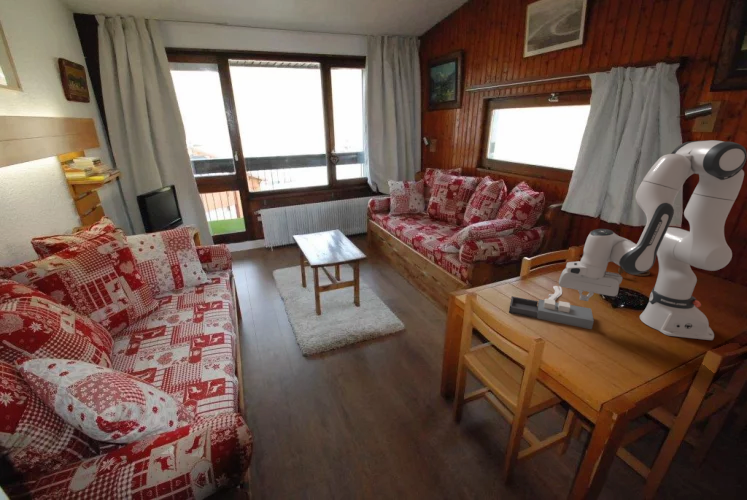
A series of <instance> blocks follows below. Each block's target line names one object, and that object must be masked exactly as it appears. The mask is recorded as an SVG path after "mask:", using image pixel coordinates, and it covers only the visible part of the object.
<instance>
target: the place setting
mask: <svg viewBox="0 0 747 500" xmlns="http://www.w3.org/2000/svg"><path fill="white" fill-rule="evenodd" d="M617 271H618V272H617V273H618V274H619V275H621V276H622V274H623V273H624V272H625V273H627V272H626V271H625V270H624V269H622V268H621V267H620V266H618V268H617ZM650 274H651V271H650V269H649V270H648V271H646V272H645V273H641V274H631V276H636V277H637V276H638V277H647V276H649V275H650ZM636 277H634V280H637V278H636Z"/></svg>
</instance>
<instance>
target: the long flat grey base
mask: <svg viewBox="0 0 747 500" xmlns="http://www.w3.org/2000/svg"><path fill="white" fill-rule="evenodd" d="M544 300H545V299H541V298H540V299H538V304H537V317H536V319H539V320H543V321H550V322H553V323H558V324H564V325H568V326H572V327H573V326H574V327H578V328H583V329H589V330H592V329H593V326H594V321H595V320H594V317H593V316H594V315H593V311H592V308H590V307H585V306H578V305H572V304H570V311H569V313H568V312H563V311H558V303H559V302H556V301H555V309H554V310H552V309H547V308H544Z"/></svg>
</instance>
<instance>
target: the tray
mask: <svg viewBox="0 0 747 500" xmlns="http://www.w3.org/2000/svg"><path fill="white" fill-rule="evenodd" d="M538 302H539V300H534V299H529V298H523V297H517V296H511V298H510V303H509V310H508V313H510V314H513V315H518V316H522V317H523V316H524V317H529V318H534V319H537V308H538Z"/></svg>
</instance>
